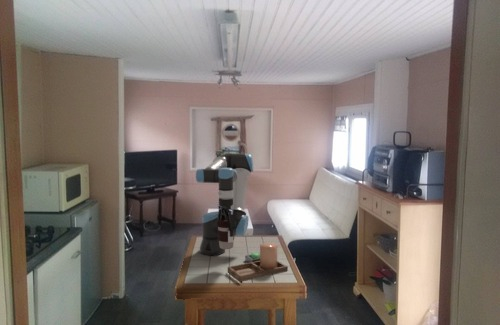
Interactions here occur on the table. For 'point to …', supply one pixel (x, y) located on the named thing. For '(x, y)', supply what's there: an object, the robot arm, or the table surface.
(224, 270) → the table surface
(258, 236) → the table surface
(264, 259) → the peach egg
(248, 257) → the grey square frame
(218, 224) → the coffee cup
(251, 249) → the table surface
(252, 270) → the divided tray
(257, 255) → the button
